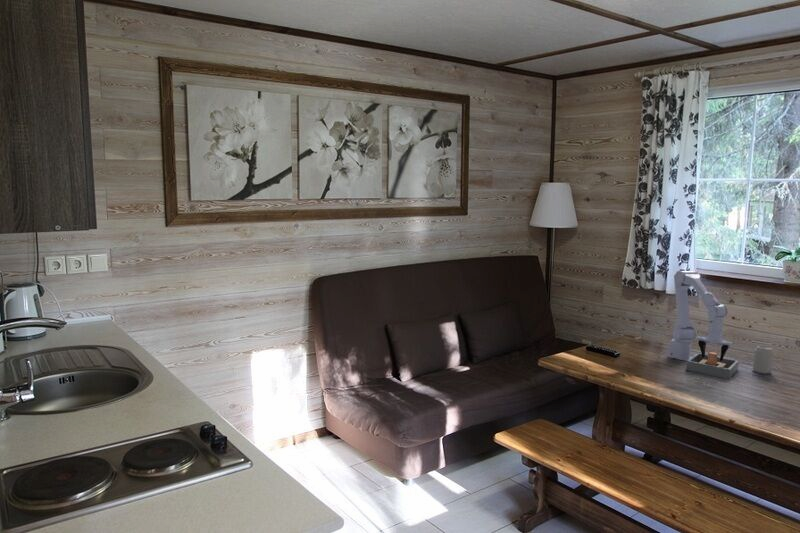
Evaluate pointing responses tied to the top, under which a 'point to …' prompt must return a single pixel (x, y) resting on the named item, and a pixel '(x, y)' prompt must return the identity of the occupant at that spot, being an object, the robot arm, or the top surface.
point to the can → (763, 359)
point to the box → (722, 368)
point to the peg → (712, 358)
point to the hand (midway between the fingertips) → (712, 358)
